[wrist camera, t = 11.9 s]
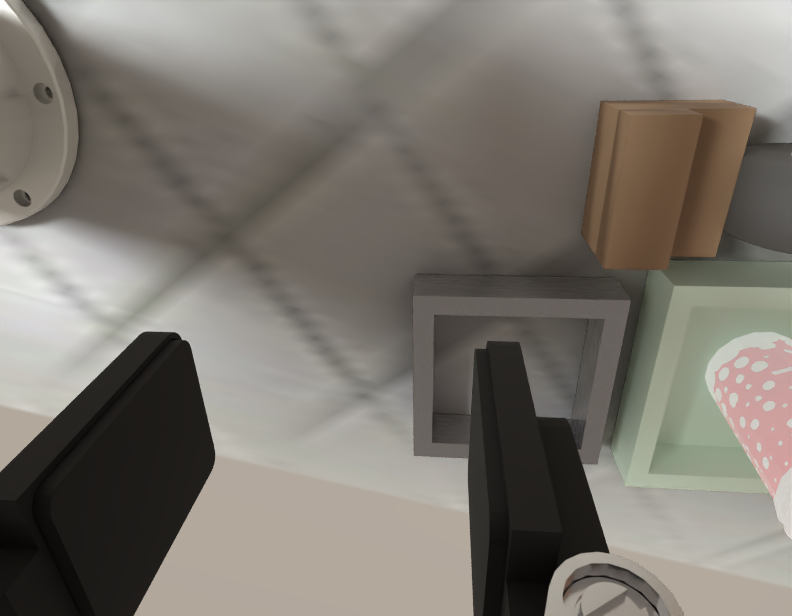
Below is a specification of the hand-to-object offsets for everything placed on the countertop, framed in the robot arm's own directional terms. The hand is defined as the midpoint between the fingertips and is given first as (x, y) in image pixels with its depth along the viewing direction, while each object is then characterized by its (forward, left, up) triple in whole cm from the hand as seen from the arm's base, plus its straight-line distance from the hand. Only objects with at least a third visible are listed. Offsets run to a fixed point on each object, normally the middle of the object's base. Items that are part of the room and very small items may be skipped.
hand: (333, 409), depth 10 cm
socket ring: (+6, -10, -17) cm, 21 cm away
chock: (+11, 0, -18) cm, 21 cm away
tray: (+18, -10, -17) cm, 27 cm away
